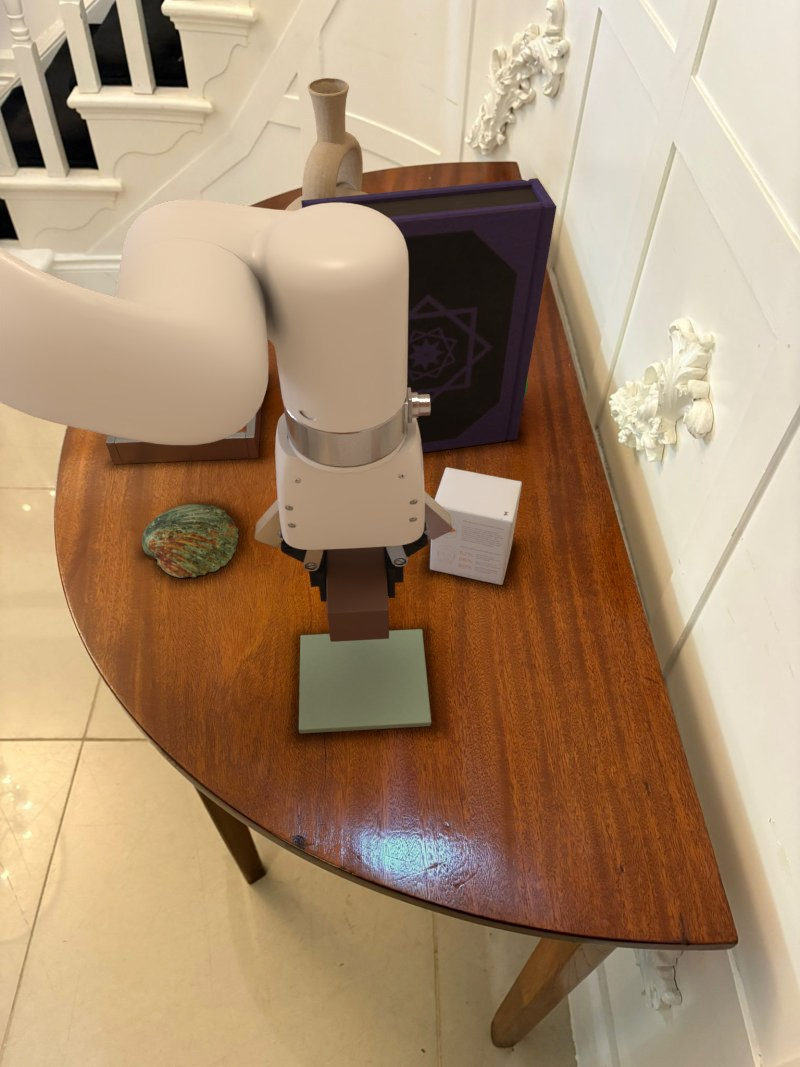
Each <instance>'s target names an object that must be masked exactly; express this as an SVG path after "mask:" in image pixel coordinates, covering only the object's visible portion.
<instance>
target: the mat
mask: <svg viewBox="0 0 800 1067" xmlns="http://www.w3.org/2000/svg"><path fill="white" fill-rule="evenodd" d="M299 642H300V645H299V646H300V648H299V649H300V650H299V652H300V653H299V694H298V695H299V698H298V699H299V700H298V702H299V703H298V732H299V734H314V733H315V734H316V733H331V732H351V731H364V730H365V731H367V730H382V729H399V728H400V729H401V728H419V727H431V726H432V715H431V705H430V696H429V695H430V694H429V684H428V675H427V664H426V656H425V655H426V653H425V645H424V633H423V629H422V628H417V629H415V628H414V629H397V630H389V639H374V640H356V641H338V642H331V641H330V634H329V633H320V634H319V633H318V634H301V635H300V640H299Z"/></svg>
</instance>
